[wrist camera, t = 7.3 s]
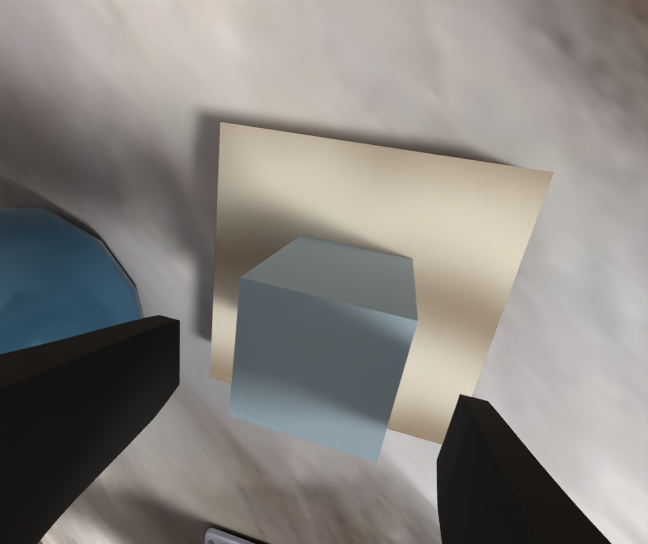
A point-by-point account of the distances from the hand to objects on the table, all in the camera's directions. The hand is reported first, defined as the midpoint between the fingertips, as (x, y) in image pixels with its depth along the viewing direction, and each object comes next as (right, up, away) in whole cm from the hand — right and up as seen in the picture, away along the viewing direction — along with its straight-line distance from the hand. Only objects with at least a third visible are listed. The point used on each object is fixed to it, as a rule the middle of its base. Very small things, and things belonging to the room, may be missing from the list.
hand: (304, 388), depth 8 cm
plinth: (+2, +3, +8) cm, 9 cm away
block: (+1, +2, +6) cm, 6 cm away
